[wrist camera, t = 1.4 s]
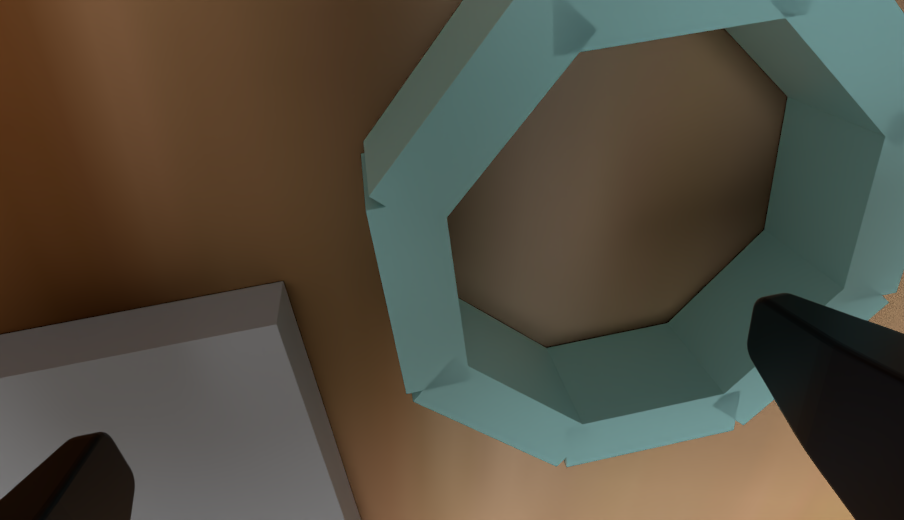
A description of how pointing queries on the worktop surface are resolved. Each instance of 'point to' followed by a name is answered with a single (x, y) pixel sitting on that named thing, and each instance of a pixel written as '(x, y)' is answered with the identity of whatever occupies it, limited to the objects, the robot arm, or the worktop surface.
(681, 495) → the worktop surface
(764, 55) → the teal ring
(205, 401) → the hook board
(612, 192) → the worktop surface
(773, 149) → the worktop surface
